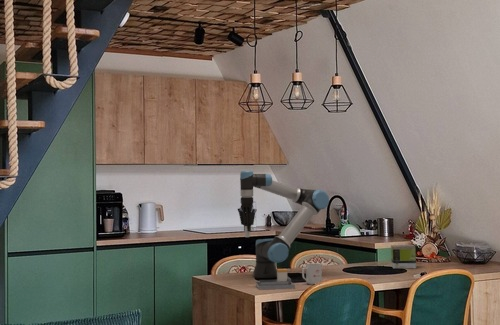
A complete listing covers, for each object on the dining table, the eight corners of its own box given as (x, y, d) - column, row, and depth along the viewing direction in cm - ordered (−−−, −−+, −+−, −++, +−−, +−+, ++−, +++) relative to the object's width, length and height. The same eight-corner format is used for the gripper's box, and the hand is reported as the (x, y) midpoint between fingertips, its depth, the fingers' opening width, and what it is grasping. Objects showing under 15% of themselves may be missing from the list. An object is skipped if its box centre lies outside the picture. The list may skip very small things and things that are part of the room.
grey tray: (259, 289, 381) (259, 280, 381) (256, 285, 394) (256, 276, 394) (294, 288, 383) (294, 279, 383) (290, 284, 396) (290, 275, 396)
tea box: (414, 266, 462) (413, 244, 462) (416, 268, 452) (415, 246, 452) (391, 266, 463) (391, 244, 463) (392, 268, 453) (392, 246, 453)
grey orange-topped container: (278, 284, 386) (278, 270, 386) (276, 282, 391) (276, 268, 391) (287, 283, 387) (287, 270, 387) (286, 282, 392) (285, 268, 392)
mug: (316, 282, 404) (316, 263, 404) (324, 284, 396) (324, 264, 396) (298, 283, 398) (298, 264, 398) (306, 286, 390) (306, 266, 390)
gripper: (234, 197, 409) (234, 236, 409) (251, 197, 401) (251, 238, 401) (242, 196, 415) (242, 235, 415) (259, 196, 407) (259, 237, 406)
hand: (247, 236), depth 408 cm, fingers closed
